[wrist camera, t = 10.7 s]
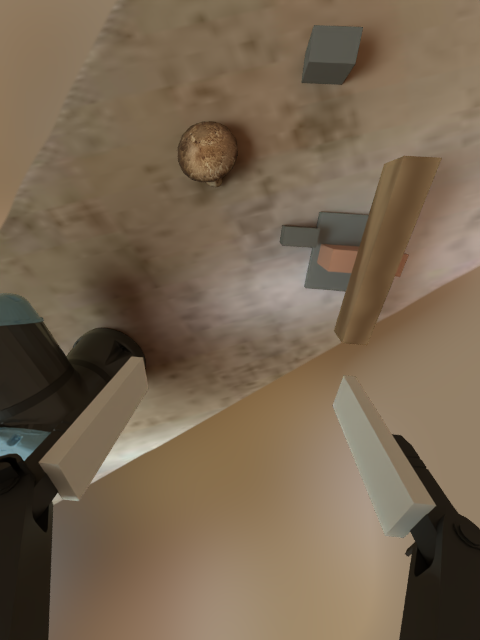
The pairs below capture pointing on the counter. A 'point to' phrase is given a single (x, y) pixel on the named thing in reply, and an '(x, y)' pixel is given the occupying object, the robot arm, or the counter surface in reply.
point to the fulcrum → (337, 251)
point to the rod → (384, 244)
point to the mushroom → (207, 152)
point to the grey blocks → (324, 68)
